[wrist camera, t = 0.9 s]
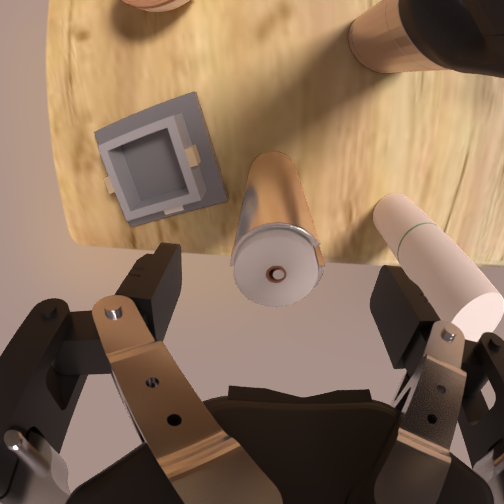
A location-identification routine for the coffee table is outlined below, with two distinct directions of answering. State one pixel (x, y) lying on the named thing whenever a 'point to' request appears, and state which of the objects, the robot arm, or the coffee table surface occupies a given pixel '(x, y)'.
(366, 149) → the coffee table surface
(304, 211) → the silver metal cylinder
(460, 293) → the cylindrical container
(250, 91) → the coffee table surface
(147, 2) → the lidded jar
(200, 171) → the socket
